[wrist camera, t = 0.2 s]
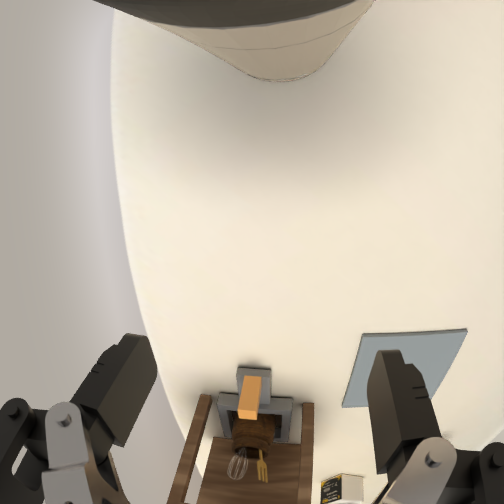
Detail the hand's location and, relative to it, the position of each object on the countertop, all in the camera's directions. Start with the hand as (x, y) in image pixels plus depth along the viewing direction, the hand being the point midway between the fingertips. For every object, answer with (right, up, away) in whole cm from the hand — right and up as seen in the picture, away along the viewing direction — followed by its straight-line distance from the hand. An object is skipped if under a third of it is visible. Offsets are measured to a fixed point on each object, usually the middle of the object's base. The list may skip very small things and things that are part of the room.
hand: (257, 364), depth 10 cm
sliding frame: (0, -17, +29) cm, 33 cm away
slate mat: (+19, -12, +23) cm, 32 cm away
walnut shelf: (+1, -24, +32) cm, 40 cm away
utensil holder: (+1, -20, +30) cm, 36 cm away
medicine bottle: (+21, -49, +43) cm, 68 cm away
